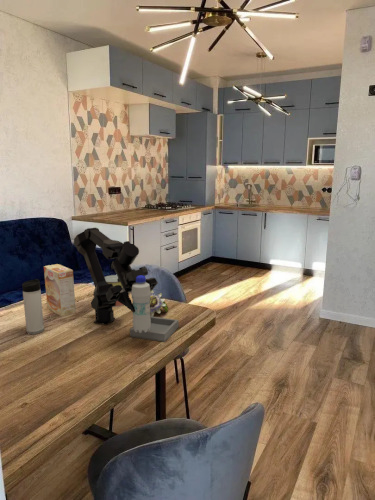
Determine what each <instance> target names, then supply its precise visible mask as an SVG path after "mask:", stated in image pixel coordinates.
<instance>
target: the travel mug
mask: <svg viewBox="0 0 375 500" xmlns="http://www.w3.org/2000/svg"><path fill="white" fill-rule="evenodd" d="M21 286H22V287H21V288H22V300H23V307H24V319H25V328H26V329H25V330H26V333H27V334H28V333H29V334H28V335H38V334H37V333H39V334H40V333H43V332H44V331H45V324H44V323H45V322H44V313H43V302H42V291H41V282H40V279H39V278H34V279H30V280H27V281H24V282H23V283H22V284H21Z"/></svg>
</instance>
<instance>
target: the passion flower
mask: <svg viewBox="0 0 375 500" xmlns="http://www.w3.org/2000/svg"><path fill="white" fill-rule="evenodd" d="M162 295H163V294H162V293H157V294H156V293H155V292H154V290H152V291H151V295H150V296H151V297H150V316H152V317H154V315H155V312H156V313H157V314H161V312H162V311H161V308H163V310H164V311H165V312H166V313H168V312H169V306H168V305H167V302H166V301H165V300H166V299H165V298H162Z"/></svg>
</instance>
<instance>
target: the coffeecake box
mask: <svg viewBox="0 0 375 500" xmlns="http://www.w3.org/2000/svg"><path fill="white" fill-rule="evenodd" d="M43 273H44V274H43V275H44V284H45V285H44V287H45V297H46V308H47V309H48V308H49V310H50V311H51V312H54V313H55V314H56V315H58V316H60V317H65V316H69V315H72V314H76V313H77V312H76V311H77V310H76V309H77V308H76V299H75V298H76V297H75V285H74V284H75V282H74V270H73V269H71V268H69V267H66V266H64V265H62V264H60V263H59V264H58V263H56V264H51V265H50V264H48V265H45V266H43Z"/></svg>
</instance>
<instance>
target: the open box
mask: <svg viewBox="0 0 375 500" xmlns="http://www.w3.org/2000/svg"><path fill="white" fill-rule="evenodd" d="M150 318H151V327H150V330H149V331H147V332H144V330H142V332H141V333H139V331H138V332H136V331H135V330H134V328H133V326H132V327H130V329H129V337H131V338H137V339H143V340H151V341H156V342H162V343H165V342H167V341H168V339H169V338H170V337H171V336H172V335H173V333H175V332H176V331H177V329H178V328H179V327H180V326H179V325H180V323H179V319H174V318H166V317H159V316H153V317H152V316H150Z"/></svg>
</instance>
